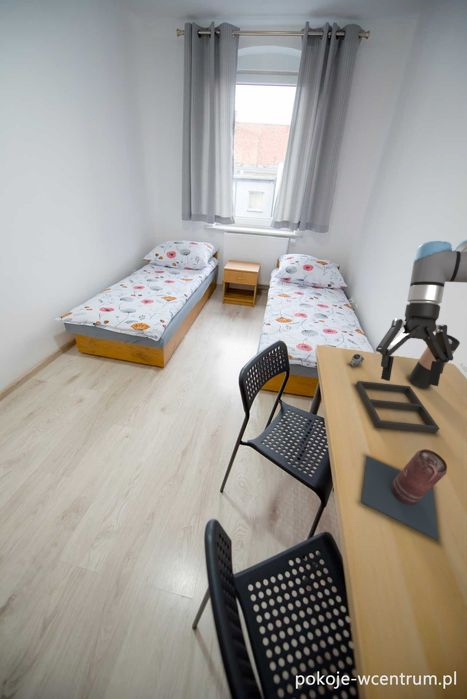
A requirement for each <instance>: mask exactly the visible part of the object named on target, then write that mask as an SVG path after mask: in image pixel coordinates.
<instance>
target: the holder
mask: <svg viewBox="0 0 467 699" xmlns="http://www.w3.org/2000/svg"><path fill="white" fill-rule="evenodd" d="M355 388H356V391H357V392H358V394H359V397H360V398H361V401H362V402H363V405H364V407H365V409H366V411H367V413H368V415H369V417H370V420H371V421H372V424H373V426H374V428H376V429H385V430H392V431H393V430H395V431H405V432H415V433H424V434H434V435H435V434H437V432H439V430H440V429H441V428H440V427H439V426H438V423H436V422H435V420H434V419H433V417H432V416H431V414H430V413H429V410H427V408H426V407H425V406H424V404H423V403H422V401H421V400H420V398H419V397H418V395H417V394H416V393H415V392H414V390H413V389H412V387H411V386H410V385H403V384H394V383H384V382H383V383H382V382H374V381H373V382H372V381H366V380H357V382H356V384H355ZM366 389H367V390H375V391H384V392H385V391H386V392H394V393H404V394H405V395H406V397H407V398H408V399H409V401H410V402H403V401H394V400H393V401H392V400H384V399H372V398H370V397H369V395H368V393H367V391H366ZM375 408H380V409H391V410H400V411H409V412H417V413H418V414H419V416H420V417H421V419H422V420H423V422H424V423H425V424H421V423H410V422H402V421H401V422H400V421H390V420H384V419H383V420H381V418H380V417H379V414H378V412H377V411H376V409H375Z"/></svg>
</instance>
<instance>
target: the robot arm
mask: <svg viewBox="0 0 467 699" xmlns="http://www.w3.org/2000/svg"><path fill="white" fill-rule="evenodd" d="M452 246H453V245H452V243H451V242H449V241H442V240H433V241H426V242H424V243H421V244H420V245H419V246H418V247H416V252H415V255H414V260H413V265H412V271H411V277H410V283H409V289H408V293H407V294H408V295H407V304H406V305H405V311H404V317H405V318H404V319H401V318H395V319H392V322H391V324H390V327H389V329H388V330H387V332H386V333H385V335H384V336H383V338H382V339H381V341H380V342H379V344H377V347H376V348H375V351H376V352H378V353H380V355H381V362H380V367H382V369H381V370H382V371H381V376H380V379H381V380H384V381H387V382H390V381H391V375H392V371H393V364H394V359H395V357H394V356H393V354H394V353H395V352H396V351H397V350H398V349H400V347H402V346H403V345H404V344H405V343H406V342H407V341H408V340H410V339H417V340H422V341H423V342H425V344H426V347H428V348H429V349H430V351H431V353H432V355H433V356H434V358H435V360H436V361H432V364H431V369H430V375H429V380H428V384H430V386H434V387H439V384H440V378H441V374H443V372H444V368H445V366H444V363H446V364H447V363H449V362H450V361H453V360H454V355H452V351H451V347H450V343H449V339H448V336H447V335H448V325H447V324H437V321H438V320H439V317H440V312H441V306H440V304H441V303H443V298H444V297H443V296H444V290H445V284H446V283H466V284H467V239H465V240H462V241H460V242H459V243H457V245H455V246H454V248H452ZM402 328H403V331H401V332H400V330H401V329H402ZM399 332H400V333H399ZM435 334H436V337H435ZM397 335H398V336H397ZM436 338H437V341H436ZM437 342H438V343H437Z"/></svg>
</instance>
